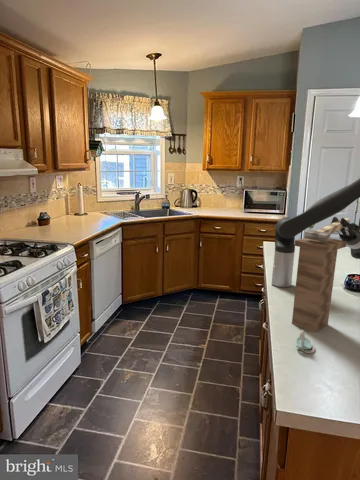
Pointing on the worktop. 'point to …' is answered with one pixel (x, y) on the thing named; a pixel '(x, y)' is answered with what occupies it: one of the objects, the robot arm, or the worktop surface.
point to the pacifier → (304, 343)
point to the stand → (314, 282)
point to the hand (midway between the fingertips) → (338, 219)
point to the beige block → (324, 231)
